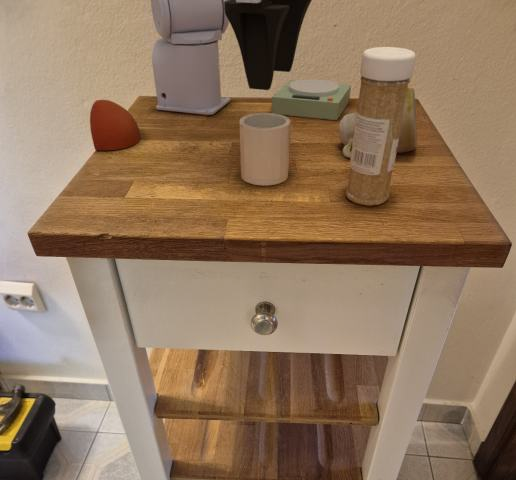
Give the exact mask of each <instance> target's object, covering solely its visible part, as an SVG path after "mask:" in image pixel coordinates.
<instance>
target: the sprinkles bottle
mask: <svg viewBox="0 0 516 480" xmlns="http://www.w3.org/2000/svg"><path fill="white" fill-rule="evenodd" d="M415 63H416V52H415V51H413V50H411V49H408V48H405V47H397V46H376V47H370V48H367V49H366V50H364V51H363V52H362V57H361V63H360V71H359V72H360V87H359V95H358V101H357V102H358V103H357V108H356V111H355V112H356V120H355V128H354V135H353V144H352V147H351V150H350V152H351V159H350V158H349V159H350V160H349V175H348V180H347V181H348V183H347V187H346V190H345V196H346V197H347V199H348V200H349V201H351V202H353V203H354V204H357V205H362V206H369V207H370V206H379V205H382V204H384V203H385V202H387V201H388V199H389V197H390V186H391V181H392V175H393V170H394V167H395V163H396V156H397V153H396V152H397V146H398V141H399V134H400V129H401V120H402V115H403V110H404V105H405V99H406V93H407V88H409V84H410V83H411V78H412V77H413V75H414V74H413V73H414V68H415Z"/></svg>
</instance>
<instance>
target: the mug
mask: <svg viewBox="0 0 516 480" xmlns="http://www.w3.org/2000/svg"><path fill="white" fill-rule="evenodd" d="M415 95H416V93H415V88H414V87H408V88H407V93H406V99H405V105H404V110H403V115H402V120H401V129H400V134H399V141H398V146H397V152H396V154H397V153H399V154H401V153H402V154H403V153H407V152H410V151H414V150H416V149H417V148H418V123H417V121H418V120H417V105H416V96H415ZM356 112H357V111H355V112H351V113H347V114H345V115H344V116H343V117H342V118H341V119H340V121H339V124H338V134H339V139H340V141H341V143H342V145H344V146H343V148H342V155H343V156H344V157H345V158H347V159H351V150H352V144H353V135H354V128H355V120H356Z"/></svg>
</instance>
